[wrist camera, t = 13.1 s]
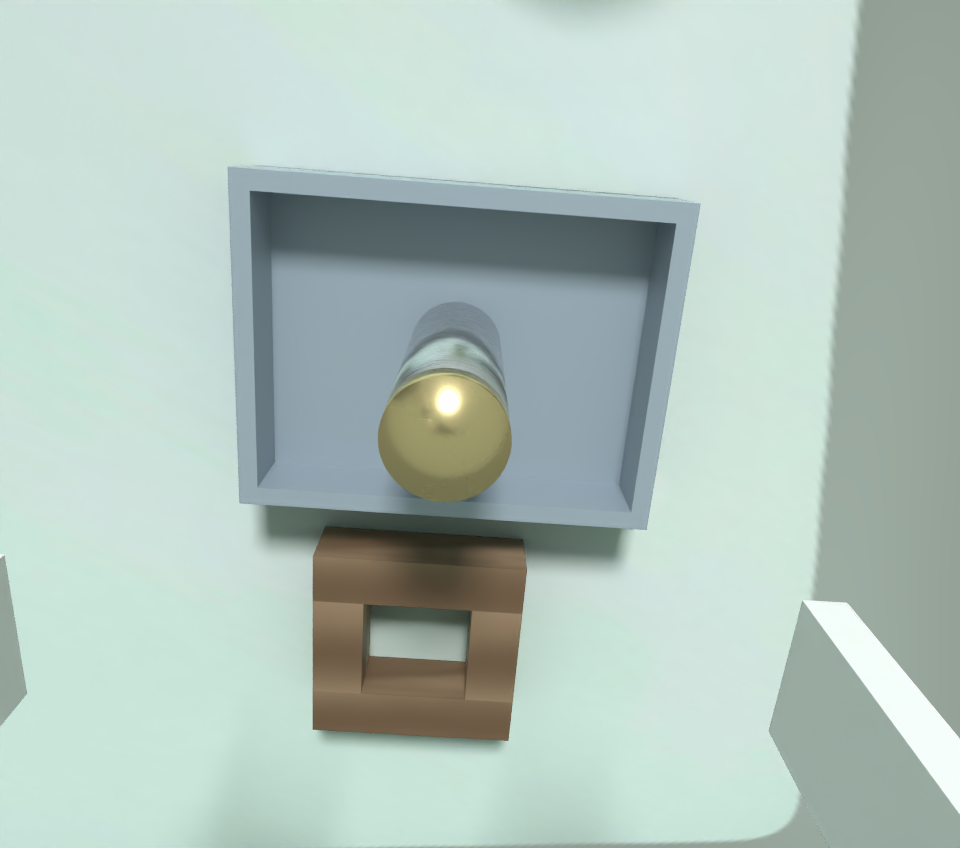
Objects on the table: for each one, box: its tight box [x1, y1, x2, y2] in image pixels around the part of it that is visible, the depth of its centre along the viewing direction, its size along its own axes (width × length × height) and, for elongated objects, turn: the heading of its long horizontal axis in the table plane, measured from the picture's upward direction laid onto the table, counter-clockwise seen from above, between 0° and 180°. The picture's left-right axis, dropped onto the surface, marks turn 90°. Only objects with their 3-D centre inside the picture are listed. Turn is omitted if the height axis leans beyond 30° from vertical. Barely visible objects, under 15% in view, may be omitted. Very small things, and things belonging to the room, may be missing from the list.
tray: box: [228, 166, 700, 530], centre depth 33 cm, size 14×18×4 cm
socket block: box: [313, 527, 527, 741], centre depth 38 cm, size 10×10×3 cm
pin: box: [378, 302, 512, 502], centre depth 28 cm, size 4×4×12 cm
